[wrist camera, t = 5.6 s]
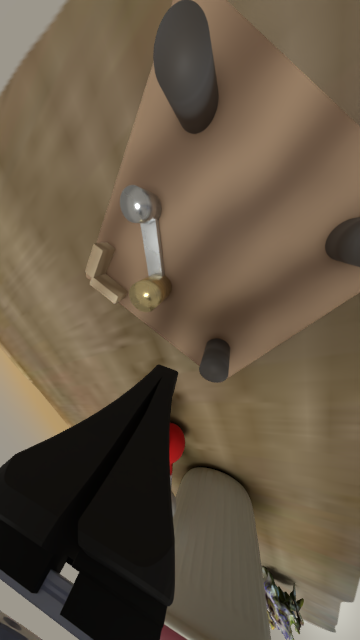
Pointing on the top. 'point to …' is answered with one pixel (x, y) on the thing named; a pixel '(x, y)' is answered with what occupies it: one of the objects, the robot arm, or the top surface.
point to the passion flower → (281, 606)
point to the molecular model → (175, 452)
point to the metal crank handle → (147, 247)
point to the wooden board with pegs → (234, 193)
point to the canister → (215, 563)
